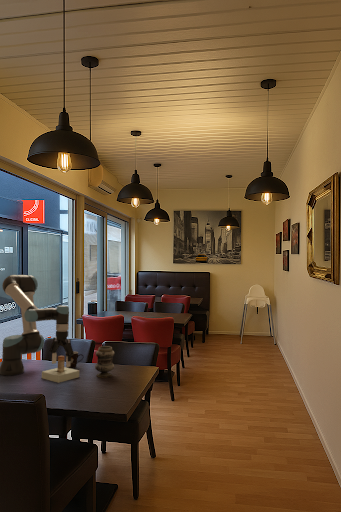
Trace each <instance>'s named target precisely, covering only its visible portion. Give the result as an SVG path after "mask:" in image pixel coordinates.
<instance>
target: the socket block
mask: <svg viewBox="0 0 341 512" xmlns="http://www.w3.org/2000/svg"><path fill="white" fill-rule="evenodd" d="M57 371H58V367H55V368H52V369H51V368H50V369H47V370H43V371H41V379H43V380H47V381H51V382H54V383H58V384H59V383H62V382H66V381H70V380H74V379H76V378H79V377H80V369H79V370H78V369H75V368H67V367H66V366H64V372H61V373H59V372H57Z"/></svg>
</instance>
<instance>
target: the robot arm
mask: <svg viewBox="0 0 341 512" xmlns="http://www.w3.org/2000/svg"><path fill="white" fill-rule="evenodd" d="M37 290H38V280H37V279H36V277H35V276H33V275H29V274H10V275H8V276H7V277H5V278H4V280H3V281H2V291H3V292H4V294H6V295H7V296H9V297H10V298H12V300H13V301H14V302H15V303H16V304H17V306H18V307H19V308H20V311H21V313H20V314H21V321H22V322H21V323H22V329H23V332H22V333H21V334H15V335H9V336H6V337H4V339H3V340H2V354H1V357H2V360H1V364H0V375H1V376H15V375H21V374H23V373H24V372H25V367H24V364H23V361H22V360H23V355H27V354H35V353H38V352H41V351H42V350H43V348H44V345H45V337H44V336H43V334H40V331H39V330H38V329H37V322H44V321H55V337H53V338H52V343H51V345H50V348H49V352H50V353H51V365H53V364H57V356H58V355H57V351H58V349H59V347H62V348H63V349H64V351H65V367H66V368H67V367H70V361H71V356H72V355H74V353H73V351H74V350H73V346H72V343H71V339H70V338H69V339H68V337H69V321H70V320H69V319H70V317H69V316H70V307H69V306H68V305H57V306H56V308H55V307H46V308H38V307H37V305H35V303H34V295H35V294H36V291H37ZM66 354H67V356H66Z"/></svg>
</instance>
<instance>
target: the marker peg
mask: <svg viewBox="0 0 341 512" xmlns="http://www.w3.org/2000/svg"><path fill="white" fill-rule="evenodd" d="M65 362H66V355H57V368H58V371H57V372H59V373H61V372H64V367H65Z"/></svg>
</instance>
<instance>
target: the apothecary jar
mask: <svg viewBox="0 0 341 512" xmlns="http://www.w3.org/2000/svg"><path fill="white" fill-rule="evenodd" d="M95 356H96V358H97V361H96V364H95V365H94V368H95V370H96V371H97V372H99V373H97V374H96V377H97V378H101V379H102V378H103V379H107V378H110V377H112V376H113V374H112V373H110V372H112V371H113V370H114V369H115V365H114V363H113V357H114V356H115V351H114V350H113V347H112V346H110V345H104V346H103V345H102V346H99V347H98V350H97V351H96V352H95Z"/></svg>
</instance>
